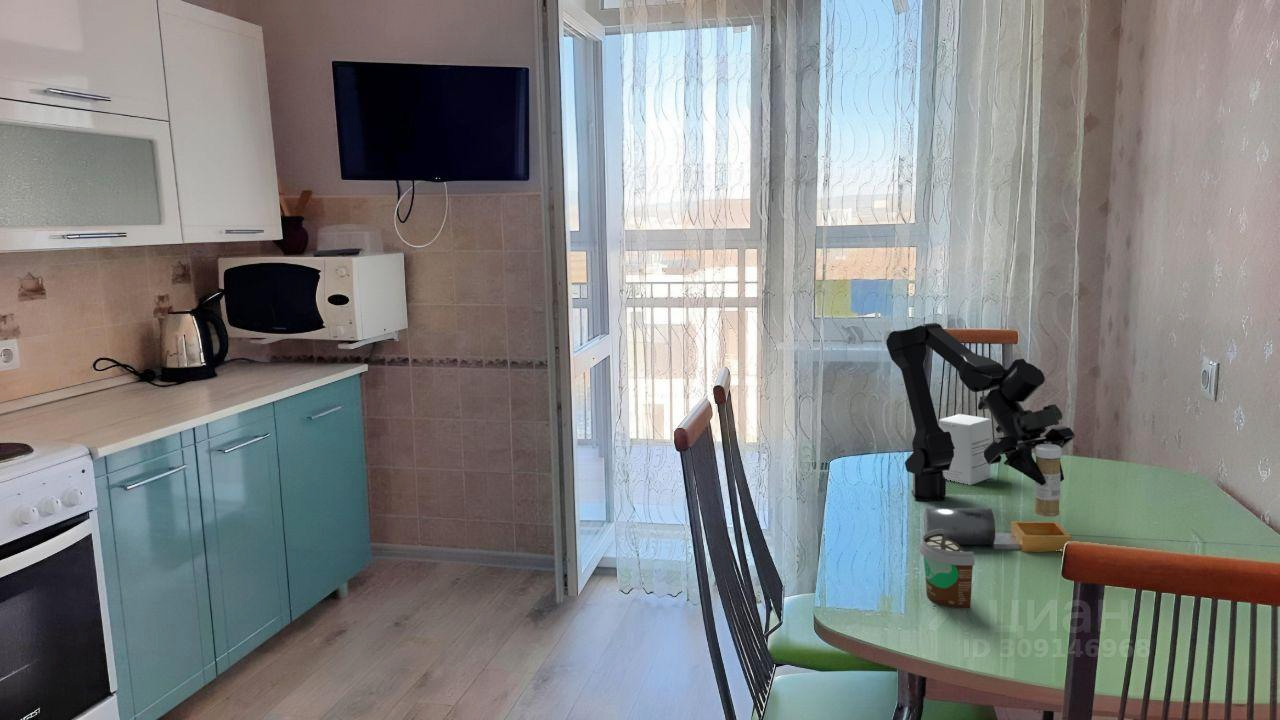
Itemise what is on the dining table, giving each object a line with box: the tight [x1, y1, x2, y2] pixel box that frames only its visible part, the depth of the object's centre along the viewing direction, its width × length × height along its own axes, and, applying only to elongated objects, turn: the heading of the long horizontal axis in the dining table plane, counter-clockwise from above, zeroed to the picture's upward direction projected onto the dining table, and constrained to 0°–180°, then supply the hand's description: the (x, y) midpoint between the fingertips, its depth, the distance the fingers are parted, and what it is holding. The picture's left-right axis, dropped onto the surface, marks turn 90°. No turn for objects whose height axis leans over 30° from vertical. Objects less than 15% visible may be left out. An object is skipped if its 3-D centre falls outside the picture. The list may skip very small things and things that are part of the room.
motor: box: [923, 507, 1072, 553], centre depth 168 cm, size 25×9×7 cm, turn 81°
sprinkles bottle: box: [1033, 444, 1062, 518], centre depth 167 cm, size 5×5×13 cm
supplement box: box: [938, 413, 992, 486], centre depth 211 cm, size 9×9×15 cm
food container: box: [918, 529, 975, 610], centre depth 145 cm, size 12×6×10 cm, turn 5°
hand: (1053, 482), depth 165 cm, fingers closed on sprinkles bottle, 4 cm apart
